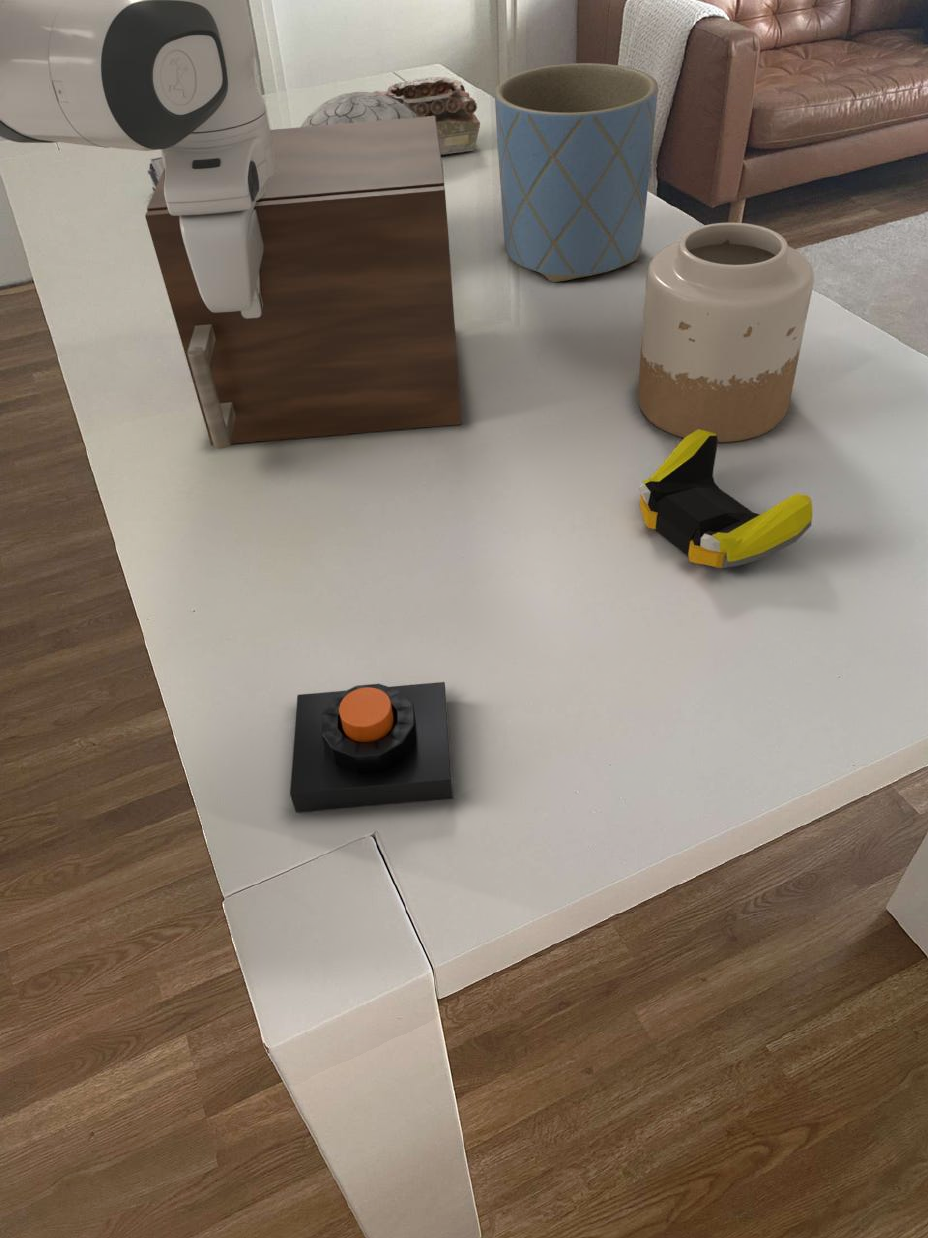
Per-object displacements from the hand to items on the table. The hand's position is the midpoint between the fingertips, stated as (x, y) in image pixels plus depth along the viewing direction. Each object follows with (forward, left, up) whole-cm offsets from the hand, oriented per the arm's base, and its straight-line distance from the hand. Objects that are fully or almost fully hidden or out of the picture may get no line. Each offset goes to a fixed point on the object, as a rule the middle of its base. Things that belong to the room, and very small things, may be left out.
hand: (253, 313), depth 89 cm
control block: (+9, -40, -15) cm, 44 cm away
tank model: (+16, +80, -15) cm, 83 cm away
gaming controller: (+39, -18, -15) cm, 46 cm away
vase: (+44, +2, -15) cm, 47 cm away
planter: (+35, +40, -15) cm, 56 cm away
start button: (+9, -40, -11) cm, 42 cm away
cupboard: (+5, +12, -15) cm, 20 cm away
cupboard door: (+5, 0, -15) cm, 16 cm away
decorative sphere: (+9, +44, -15) cm, 48 cm away
